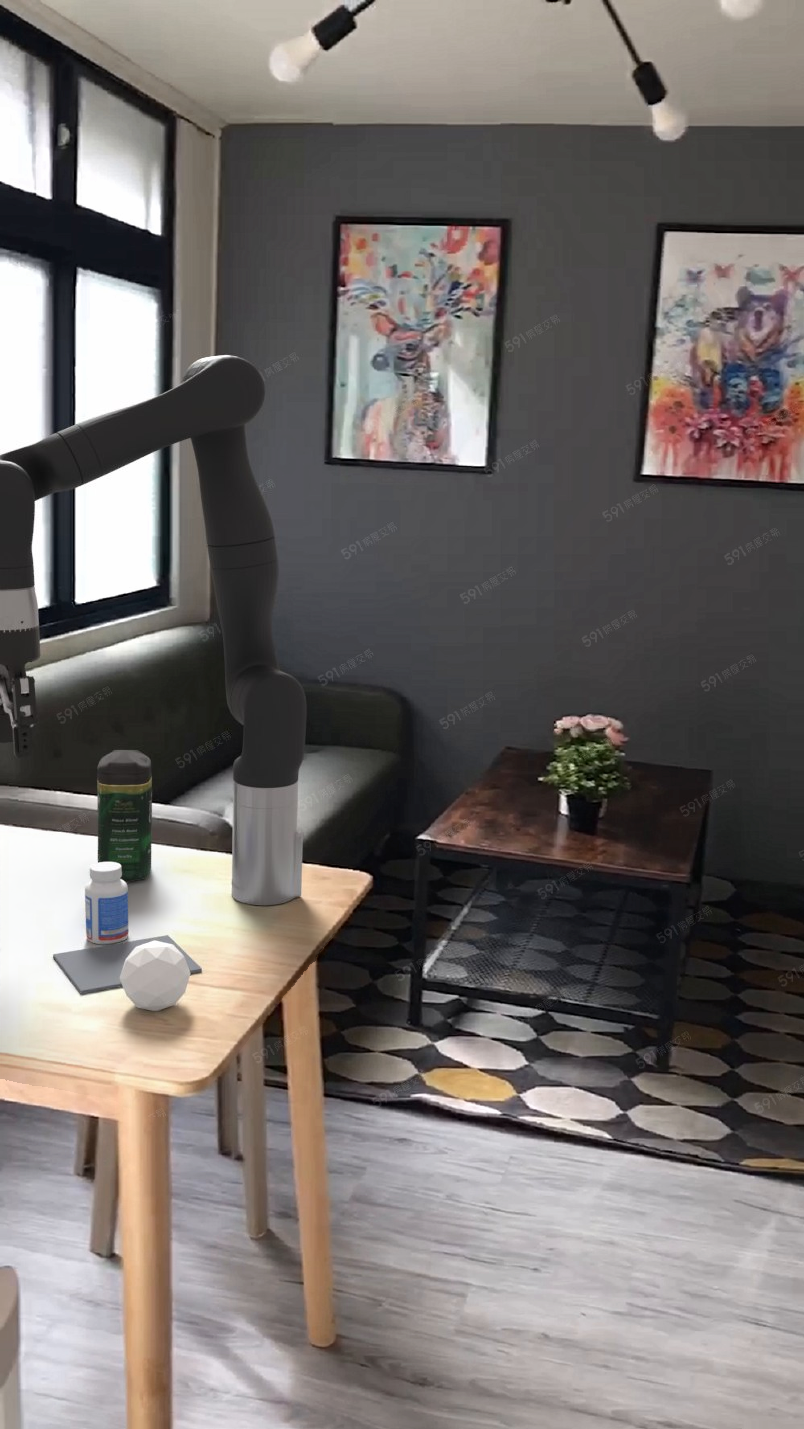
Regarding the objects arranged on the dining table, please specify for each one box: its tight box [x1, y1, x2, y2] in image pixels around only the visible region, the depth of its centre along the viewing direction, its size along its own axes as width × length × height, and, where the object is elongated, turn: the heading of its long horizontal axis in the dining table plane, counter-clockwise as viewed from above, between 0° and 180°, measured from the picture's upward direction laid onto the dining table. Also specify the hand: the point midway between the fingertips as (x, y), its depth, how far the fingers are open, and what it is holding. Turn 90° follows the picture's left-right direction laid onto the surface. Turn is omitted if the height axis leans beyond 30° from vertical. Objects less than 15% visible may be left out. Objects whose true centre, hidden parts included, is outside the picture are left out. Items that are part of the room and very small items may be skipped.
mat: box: [52, 934, 203, 995], centre depth 156 cm, size 15×12×1 cm
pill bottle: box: [84, 862, 129, 945], centre depth 163 cm, size 6×5×10 cm
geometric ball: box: [120, 940, 191, 1012], centre depth 144 cm, size 8×8×8 cm
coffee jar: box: [96, 749, 153, 884], centre depth 187 cm, size 10×8×19 cm
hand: (15, 748), depth 161 cm, fingers open, 8 cm apart
